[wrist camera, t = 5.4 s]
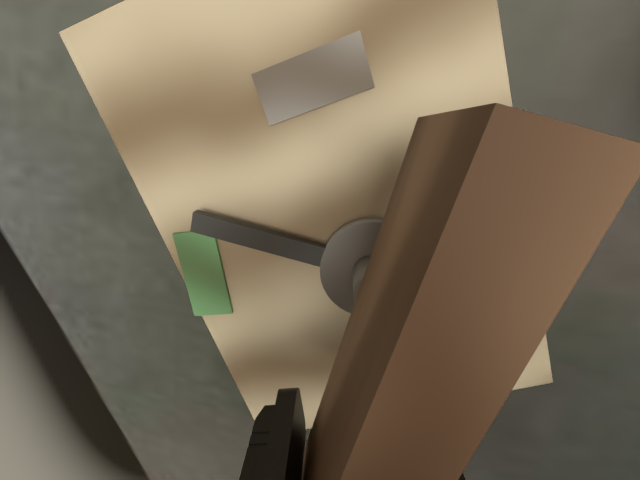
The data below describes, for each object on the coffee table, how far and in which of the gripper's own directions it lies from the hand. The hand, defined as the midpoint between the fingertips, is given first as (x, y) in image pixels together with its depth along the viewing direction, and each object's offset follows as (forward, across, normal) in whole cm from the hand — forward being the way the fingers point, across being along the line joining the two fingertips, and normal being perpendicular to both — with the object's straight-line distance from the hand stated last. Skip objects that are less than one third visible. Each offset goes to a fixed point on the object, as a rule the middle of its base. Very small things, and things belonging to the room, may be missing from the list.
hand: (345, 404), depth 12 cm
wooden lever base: (+10, 0, -5) cm, 11 cm away
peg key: (+4, +1, -5) cm, 6 cm away
